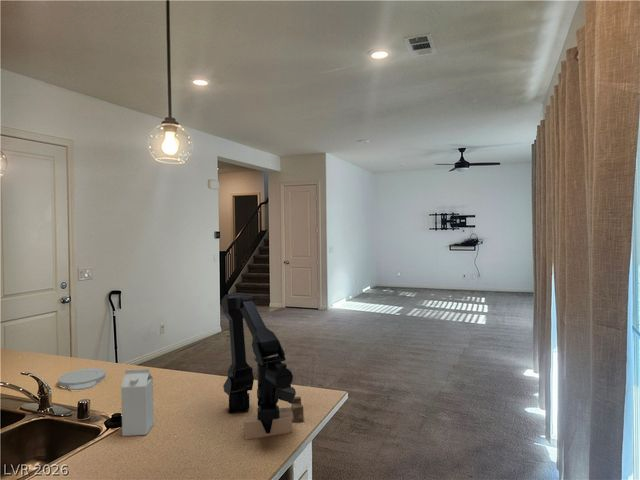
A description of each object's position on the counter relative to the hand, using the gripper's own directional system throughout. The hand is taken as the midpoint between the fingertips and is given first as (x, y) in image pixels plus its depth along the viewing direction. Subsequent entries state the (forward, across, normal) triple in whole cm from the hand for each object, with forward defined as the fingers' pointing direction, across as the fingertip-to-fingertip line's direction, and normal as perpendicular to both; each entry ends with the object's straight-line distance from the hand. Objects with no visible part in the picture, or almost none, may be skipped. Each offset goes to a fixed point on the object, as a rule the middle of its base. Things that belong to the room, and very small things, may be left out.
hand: (268, 429), depth 125 cm
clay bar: (+1, 0, 0) cm, 1 cm away
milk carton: (+1, +9, +40) cm, 41 cm away
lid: (+2, +56, +74) cm, 92 cm away
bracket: (+1, +10, -4) cm, 11 cm away
